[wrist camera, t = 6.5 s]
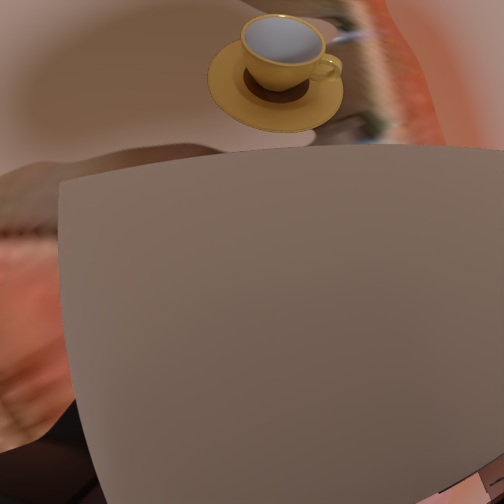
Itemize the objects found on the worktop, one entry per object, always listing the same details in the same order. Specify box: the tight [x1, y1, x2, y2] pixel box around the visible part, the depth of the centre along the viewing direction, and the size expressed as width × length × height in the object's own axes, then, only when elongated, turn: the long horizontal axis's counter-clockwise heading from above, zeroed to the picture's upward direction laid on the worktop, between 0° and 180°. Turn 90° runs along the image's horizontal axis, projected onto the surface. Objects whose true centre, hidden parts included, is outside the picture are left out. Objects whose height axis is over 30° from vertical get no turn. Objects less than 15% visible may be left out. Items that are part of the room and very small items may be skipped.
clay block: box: [58, 144, 504, 504], centre depth 9 cm, size 3×5×14 cm, turn 98°
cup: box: [207, 14, 343, 133], centre depth 23 cm, size 12×12×5 cm
